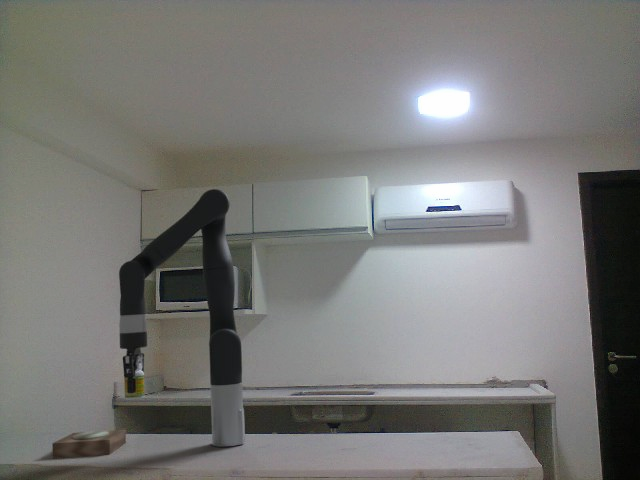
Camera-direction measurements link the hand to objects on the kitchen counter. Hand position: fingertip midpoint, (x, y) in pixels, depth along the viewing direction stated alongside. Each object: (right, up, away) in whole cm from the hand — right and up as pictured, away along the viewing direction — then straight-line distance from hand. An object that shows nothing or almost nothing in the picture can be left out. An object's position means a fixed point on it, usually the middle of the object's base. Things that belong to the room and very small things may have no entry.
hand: (134, 391), depth 172 cm
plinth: (-15, -19, +8) cm, 26 cm away
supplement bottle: (0, -2, 0) cm, 2 cm away
